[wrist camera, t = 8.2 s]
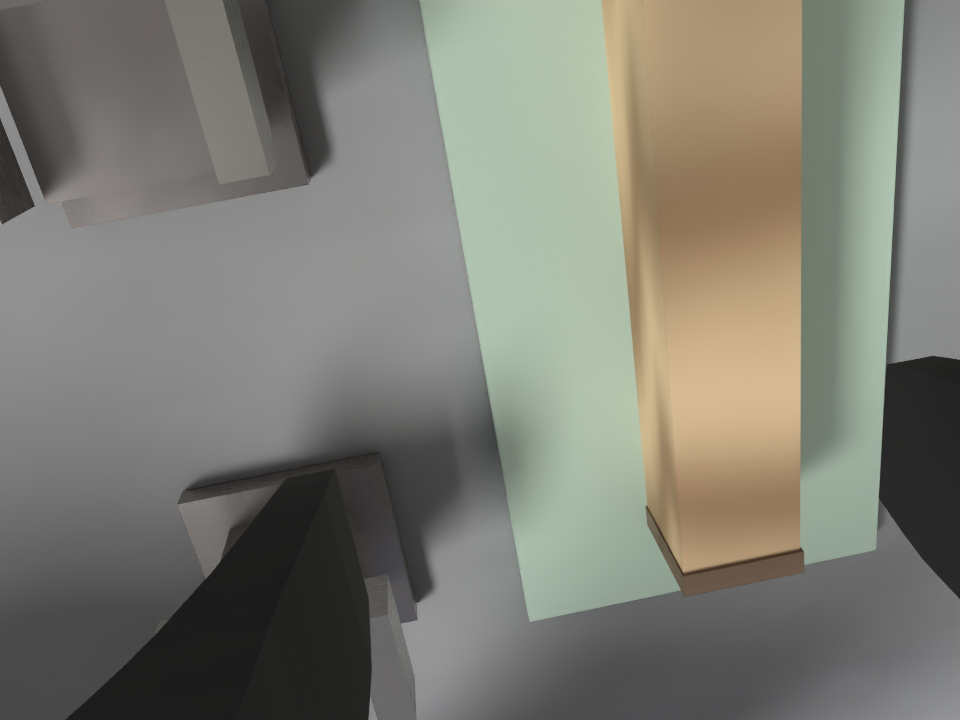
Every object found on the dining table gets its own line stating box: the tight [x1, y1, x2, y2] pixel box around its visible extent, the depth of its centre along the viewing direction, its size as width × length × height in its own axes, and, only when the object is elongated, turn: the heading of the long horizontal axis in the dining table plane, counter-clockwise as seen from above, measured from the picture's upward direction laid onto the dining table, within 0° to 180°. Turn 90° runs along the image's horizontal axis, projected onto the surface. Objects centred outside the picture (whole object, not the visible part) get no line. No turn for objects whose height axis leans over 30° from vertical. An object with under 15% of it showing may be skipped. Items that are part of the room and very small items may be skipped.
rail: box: [601, 0, 804, 597], centre depth 17 cm, size 17×3×3 cm, turn 9°
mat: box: [419, 0, 905, 622], centre depth 18 cm, size 22×10×1 cm, turn 9°
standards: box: [0, 0, 417, 720], centre depth 17 cm, size 17×5×5 cm, turn 9°
